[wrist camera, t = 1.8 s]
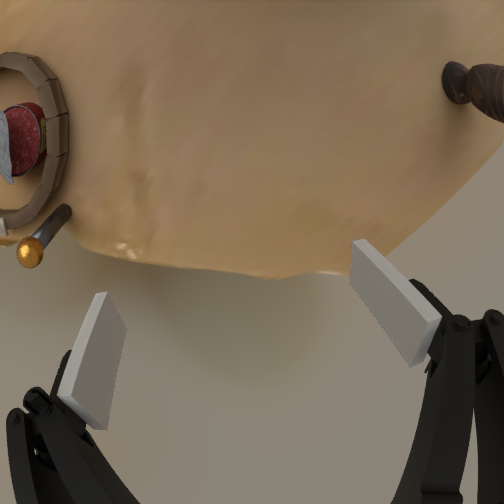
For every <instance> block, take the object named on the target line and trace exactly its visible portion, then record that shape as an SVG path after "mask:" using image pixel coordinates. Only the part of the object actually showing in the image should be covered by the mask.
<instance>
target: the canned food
mask: <svg viewBox="0 0 504 504" xmlns="http://www.w3.org/2000/svg"><path fill="white" fill-rule="evenodd" d="M46 154H47V143H46V118H45V115H44V112H43V109H42V108H41V107H40V106H38V105H37V104H34V103H29V102H28V103H22V104H18V105H14V106H11V107H9V108H7V109H6V110H4V111H3V112H2V111H0V173H1V174H2V176H3V178H4V179H5V180H6V181H7V182H8V183H9V184H12V185H13V183H14V182H13V178H12V177H19V176H22V175H24V174H26V173H27V172H29V171H30V170H32V169H33V168H35V167H36V166H38V165H39V164H40V163H41V162H42V161H43V159H44V158H45V156H46Z"/></svg>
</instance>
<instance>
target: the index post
mask: <svg viewBox="0 0 504 504" xmlns="http://www.w3.org/2000/svg"><path fill="white" fill-rule="evenodd" d="M71 215H72V210H71V208H70V207H69V205H67V204H61V205H60V206H59V207H58V208H57V209H56V210H55V211H54V212H53V213H52V214H51V215H50V216H49V217H48V218H47V219H46V220H45V221H44V222H43V223H42V224H41V226H40V227H39V228H38V229H37V230H36V231H35V232H34V233H33V235H32V236H29V237H25V238H23V239H22V240H21V241H20V242H19V244H18V247H17V259H18V261H19V262H20V264H21V265H22V266H24V267H25V268H35V267H36V266H38V265H39V264H40V262H41V261H42V258H43V250H44V249H45V248H46V246H47V245H48V243H49V242H50V241H51V240H52V239H53V237H54V236H55V234H57V232H58V231H59V230H60V229H61V227H62V226H63V225H64V224H65V223H66V221H67V220H68V219H69V218H70V217H71Z"/></svg>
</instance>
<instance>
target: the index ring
mask: <svg viewBox="0 0 504 504" xmlns="http://www.w3.org/2000/svg"><path fill="white" fill-rule="evenodd" d="M5 68H10V69H14V70H17V71H21V72H22V73H23V74H24V75H25V77H26V78H27V79H28V80H29V81H30V83H31V84H32V85H33V86H34V87H35V89H36V90H37V92H38V96H39V99H40V102H41V106H42V109H43V112H44V115H45V118H46V143H47V157H46V161H45V165H44V169H43V174H42V179H41V184H40V186H39V188H38V190H37V191H36V193H35V194H34V196H33V198H32V200H31V201H30V203H29V204H27V205H26V206H24V207H23V208H21V209H20V210H0V234H1V237H7V236H8V235H9V234H8V230H7V229H12V230H15V229H17V228H19V227H20V226H22V225H24V224H26V223H27V222H29V221H31V220H32V219H34V218H35V217H36V216H37V215H38V214H39V213H40V212H41V211H42V210H43V209H44V208H45V206H46V205H47V203H48V202H49V200H50V199H51V197H52V196H53V194H54V193H55V191H56V190H57V188H58V186H59V185H60V181H61V177H62V173H63V169H64V165H65V162H66V158H67V155H68V152H67V151H68V114H65V113H67V112H68V110H67V107H66V104H65V101H64V97H63V94H62V91H61V87H60V84H59V80H56V79H57V77H56V76H55V75H54V74H53V72H52V71H51V70H50V69H49V68H48V67H47V66H46V64H45V63H44V62H43V61H42V60H41V59H40V58H39V57H36V56H31V55H27V54H23V53H18V52H5V53H2V54H0V70H2V69H5Z"/></svg>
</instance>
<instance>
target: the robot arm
mask: <svg viewBox="0 0 504 504" xmlns="http://www.w3.org/2000/svg"><path fill="white" fill-rule="evenodd" d="M350 284H351V285H352V287H353V288H354V289H355V291H356V292H357V294H358V295H359V296H360V298H361V299H362V300H363V302H364V303H365V304H366V306H367V307H368V308H369V310H370V311H371V313H372V314H373V315H374V317H375V318H376V319H377V320H378V322H379V324H380V325H381V326H382V328H383V329H384V331H385V332H386V333H387V335H388V336H389V338H390V339H391V341H392V342H393V344H394V345H395V346H396V348H397V349H398V351H399V352H400V354H401V355H402V357H403V358H404V360H405V361H406V363H407V364H408V365H409V367H410V368H411V367H413V366H415V365H417V364H419V363H421V362H423V361H424V359H425V356H426V354H427V353H428V354H429V356H430V357H431V359H430V361H429V363H428V365H427V367H426V369H425V373H427V371H428V375H427V381H426V388H425V393H424V398H423V403H422V408H421V413H420V417H419V422H418V426H417V430H416V433H415V437H414V441H413V444H412V448H411V451H410V454H409V458H408V461H407V464H406V467H405V470H404V473H403V476H402V478H401V481H400V484H399V486H398V489H397V491H396V494H395V496H394V498H393V500H392V502H391V504H462V502H463V496H462V495H461V493H460V492H459V488H460V483H461V480H462V475H463V471H464V467H465V462H466V457H467V452H468V447H469V441H470V433H471V426H472V418H473V408H474V414H475V422H476V433H477V446H478V494H477V504H504V315H503V314H502V313H501V312H499V311H497V310H493V309H490V310H488V311H486V312H485V314H484V317H483V318H482V319H480V320H474V321H470V320H469V319H468V318H467V317H465V316H463V315H453V314H452V313H451V312H450V311H449V310H448V309H447V308H446V307H445V306H444V305H443V304H442V303H441V302H440V301H439V300H438V299H437V298H436V297H434V294H433V293H431V292H430V291H429V289H427V288H426V286H425V285H423V284H422V283H421V282H419V281H417V280H415V279H411V280H407V279H406V278H405V277H404V276H403V275H402V274H401V273H400V272H399V271H398V270H397V269H396V268H395V267H394V266H393V265H392V264H391V263H390V262H389V261H388V260H387V259H386V258H385V257H384V256H382V255H381V254H380V253H379V252H378V251H377V250H376V249H375V248H374V247H373V246H372V245H371V244H370V243H369V242H367V241H366V240H365V239H360V240H355V241H352V253H351V271H350ZM126 332H127V328H126V326H125V324H124V322H123V320H122V319H121V317H120V315H119V313H118V311H117V309H116V307H115V305H114V303H113V302H112V299H111V297H110V295H109V293H108V292H102V293H96V295H95V297H94V299H93V301H92V303H91V306H90V308H89V310H88V312H87V315H86V317H85V319H84V322H83V324H82V327H81V329H80V331H79V334H78V337H77V339H76V341H75V344H74V347H73V349H72V350H68V352H67V353H66V354H65V356H64V357H63V358H62V361H61V364H60V368H59V369H58V372H57V375H56V378H55V381H54V384H53V387H52V390H51V393H50V396H49V395H48V394H47V393H46V392H45V391H44V390H43V389H42V388H40V387H33V388H31V389H30V390H29V391H28V392H27V393H26V395H25V396H24V399H23V406H24V407H25V408H26V409H27V410H28V411H29V412H30V413H27V414H26V413H25V412H24V411H23V410H21V409H20V408H14V409H12V410H11V411H10V412H9V414H8V416H7V419H6V432H7V447H8V457H9V465H10V472H11V478H12V484H13V489H14V494H15V498H16V502H17V504H140V503H139V502H138V500H137V499H136V498H135V497H134V496H133V495H132V493H131V492H130V491H129V490H128V488H127V487H126V486H125V485H124V483H123V482H122V481H121V479H120V478H119V477H118V476H117V474H116V473H115V471H114V470H113V469H112V467H111V466H110V465H109V463H108V462H107V460H106V459H105V457H104V456H103V454H102V453H101V452H100V450H99V448H98V447H97V445H96V443H95V442H94V440H93V439H92V437H91V435H90V434H89V432H88V431H87V430H86V429H85V428H86V423H87V424H88V425H89V426H91V427H92V428H93V429H97V430H107V429H108V423H109V416H110V409H111V403H112V398H113V392H114V387H115V381H116V376H117V371H118V367H119V362H120V357H121V353H122V349H123V344H124V340H125V336H126ZM490 357H491V358H490ZM34 449H35V450H36V455H35V452H34Z"/></svg>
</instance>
